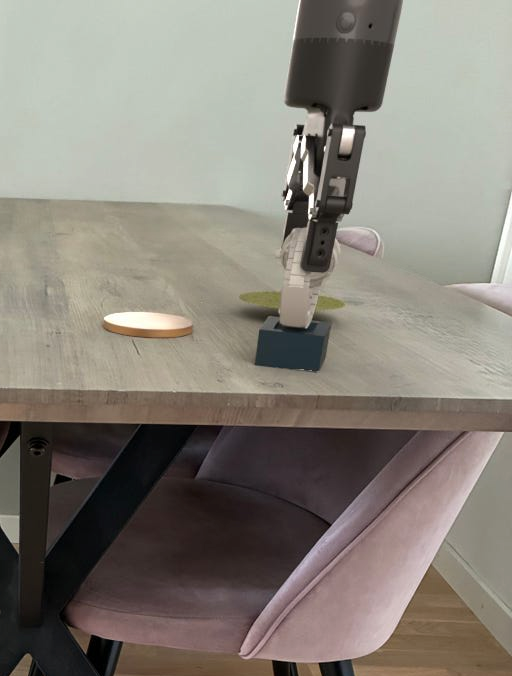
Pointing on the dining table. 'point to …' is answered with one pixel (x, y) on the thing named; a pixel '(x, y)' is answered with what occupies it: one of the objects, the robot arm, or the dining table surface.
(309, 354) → the watch
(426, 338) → the dining table surface
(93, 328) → the dining table surface
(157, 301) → the dining table surface
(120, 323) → the coaster
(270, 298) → the olive green disc
